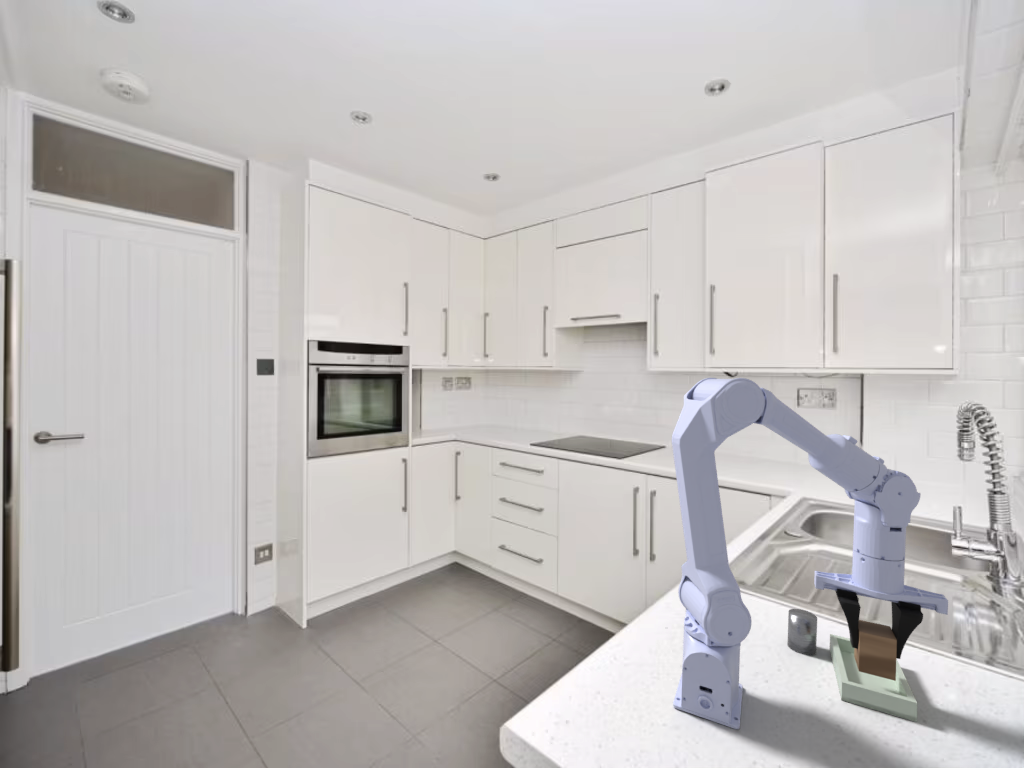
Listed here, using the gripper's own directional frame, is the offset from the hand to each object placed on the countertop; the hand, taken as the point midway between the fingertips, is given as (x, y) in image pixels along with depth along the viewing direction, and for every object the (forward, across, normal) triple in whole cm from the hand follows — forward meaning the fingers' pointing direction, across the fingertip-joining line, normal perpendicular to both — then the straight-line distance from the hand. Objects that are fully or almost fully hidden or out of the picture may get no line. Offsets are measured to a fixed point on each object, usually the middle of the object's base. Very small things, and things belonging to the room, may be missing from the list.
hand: (874, 649), depth 65 cm
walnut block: (+3, 0, 0) cm, 3 cm away
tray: (+6, 0, -4) cm, 7 cm away
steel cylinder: (+6, +8, -8) cm, 13 cm away
